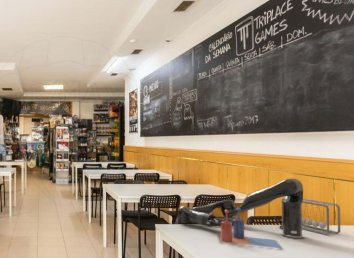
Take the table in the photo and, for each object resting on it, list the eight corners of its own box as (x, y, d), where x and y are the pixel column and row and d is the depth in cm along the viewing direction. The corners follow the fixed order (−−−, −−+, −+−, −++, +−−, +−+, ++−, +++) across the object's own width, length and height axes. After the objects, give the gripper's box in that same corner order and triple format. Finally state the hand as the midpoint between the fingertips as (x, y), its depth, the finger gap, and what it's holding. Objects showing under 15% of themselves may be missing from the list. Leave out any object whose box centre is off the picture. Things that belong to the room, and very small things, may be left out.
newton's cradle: (340, 234, 201) (340, 204, 202) (328, 235, 198) (327, 205, 199) (293, 223, 230) (292, 196, 230) (281, 224, 226) (281, 197, 227)
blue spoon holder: (232, 235, 192) (232, 206, 193) (243, 236, 190) (243, 206, 191) (233, 238, 187) (233, 207, 188) (245, 239, 185) (244, 208, 186)
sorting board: (218, 235, 195) (218, 234, 195) (274, 241, 185) (274, 239, 185) (220, 243, 180) (220, 241, 180) (281, 249, 170) (281, 248, 170)
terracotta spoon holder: (220, 238, 185) (220, 208, 186) (231, 240, 184) (231, 208, 184) (221, 241, 180) (221, 209, 181) (232, 242, 178) (232, 210, 179)
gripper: (213, 224, 211) (237, 230, 197) (197, 226, 204) (221, 233, 190) (213, 212, 212) (237, 217, 197) (197, 214, 205) (221, 219, 190)
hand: (229, 225), depth 194 cm, fingers open, 8 cm apart
